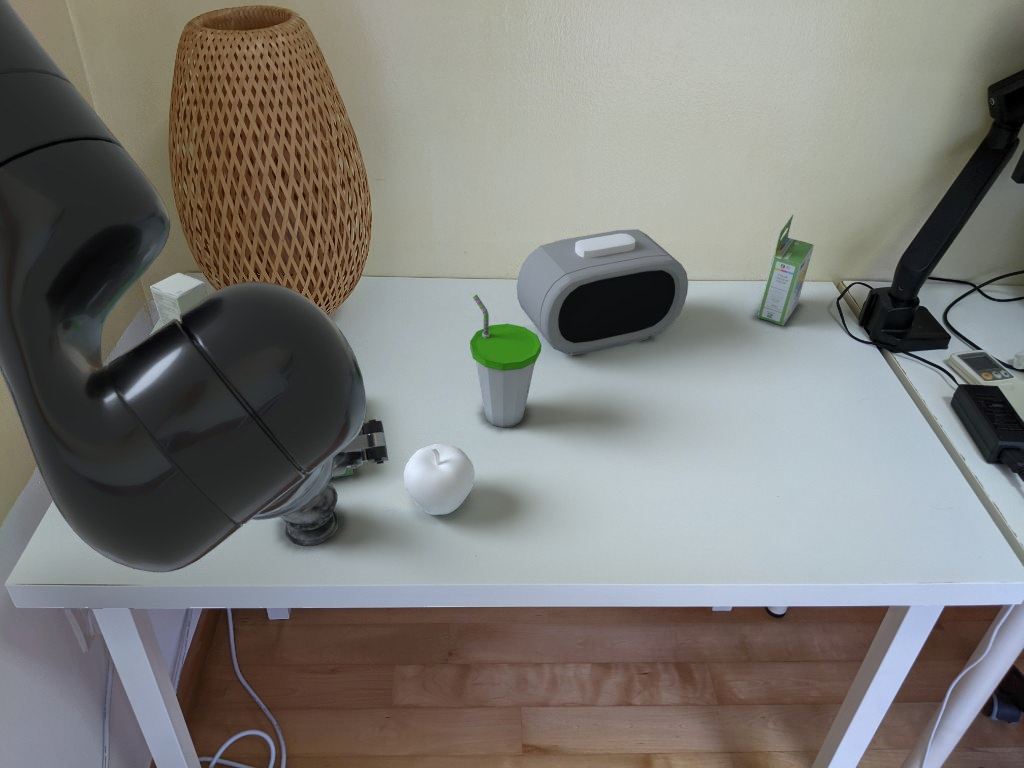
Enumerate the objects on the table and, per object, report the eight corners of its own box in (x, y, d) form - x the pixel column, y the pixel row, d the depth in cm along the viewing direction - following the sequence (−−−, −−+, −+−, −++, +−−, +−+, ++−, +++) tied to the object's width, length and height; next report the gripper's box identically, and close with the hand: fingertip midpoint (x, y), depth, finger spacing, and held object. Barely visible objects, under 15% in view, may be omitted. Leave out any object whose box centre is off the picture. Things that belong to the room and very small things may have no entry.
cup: (548, 426, 90) (555, 317, 81) (486, 444, 87) (486, 333, 78) (520, 388, 95) (524, 282, 86) (461, 403, 93) (458, 295, 84)
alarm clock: (543, 367, 99) (548, 274, 91) (515, 328, 106) (518, 239, 98) (681, 336, 105) (698, 247, 97) (646, 301, 112) (659, 216, 104)
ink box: (784, 327, 108) (808, 240, 100) (756, 318, 109) (777, 232, 101) (797, 305, 112) (822, 220, 104) (771, 297, 114) (792, 213, 106)
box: (226, 358, 99) (207, 282, 92) (199, 374, 96) (177, 298, 89) (198, 345, 101) (178, 270, 95) (171, 361, 98) (148, 285, 92)
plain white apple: (391, 503, 80) (385, 445, 75) (441, 468, 84) (438, 411, 79) (439, 539, 76) (436, 480, 71) (488, 500, 80) (488, 442, 75)
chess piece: (353, 516, 78) (340, 425, 71) (316, 556, 74) (297, 464, 67) (307, 496, 80) (289, 406, 73) (268, 534, 76) (245, 443, 69)
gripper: (383, 365, 45) (375, 400, 60) (117, 402, 41) (182, 429, 57) (404, 494, 44) (390, 496, 60) (134, 542, 41) (195, 530, 56)
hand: (288, 463), depth 58 cm, fingers open, 8 cm apart
